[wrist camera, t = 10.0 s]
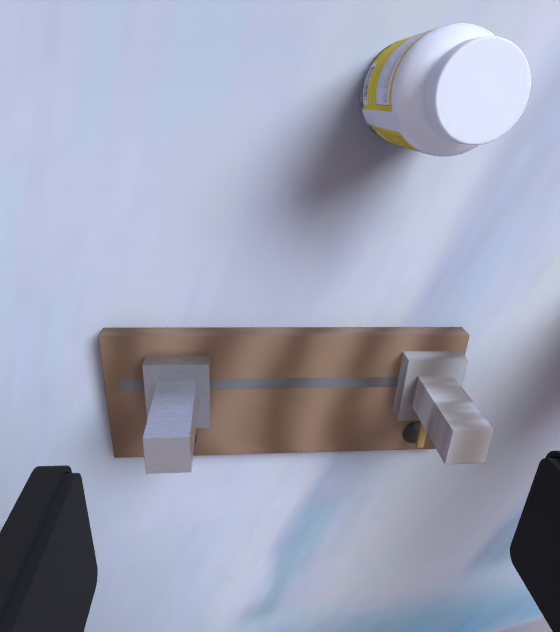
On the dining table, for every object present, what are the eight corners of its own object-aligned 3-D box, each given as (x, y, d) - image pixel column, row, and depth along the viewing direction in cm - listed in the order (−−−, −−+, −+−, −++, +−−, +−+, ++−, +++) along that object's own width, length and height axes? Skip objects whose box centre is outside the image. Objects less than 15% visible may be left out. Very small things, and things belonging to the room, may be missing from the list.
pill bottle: (447, 136, 34) (542, 157, 24) (359, 148, 34) (415, 174, 24) (451, 32, 32) (560, 3, 21) (355, 44, 31) (417, 22, 21)
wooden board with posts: (461, 327, 41) (525, 393, 32) (436, 437, 46) (485, 521, 37) (103, 327, 38) (63, 400, 29) (118, 446, 43) (88, 539, 34)
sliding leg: (209, 355, 38) (204, 417, 31) (211, 444, 42) (207, 519, 35) (145, 355, 38) (124, 419, 30) (153, 446, 41) (136, 522, 34)
